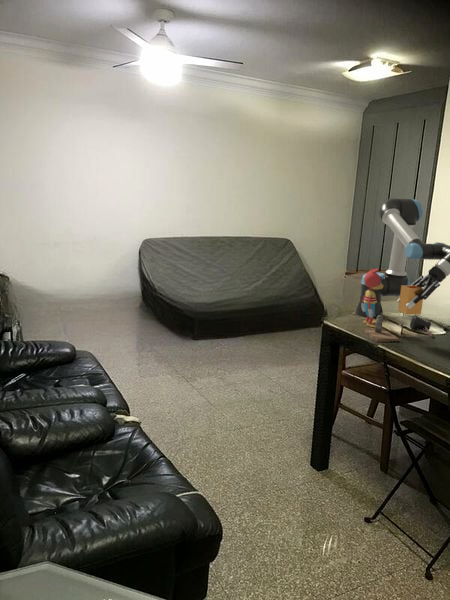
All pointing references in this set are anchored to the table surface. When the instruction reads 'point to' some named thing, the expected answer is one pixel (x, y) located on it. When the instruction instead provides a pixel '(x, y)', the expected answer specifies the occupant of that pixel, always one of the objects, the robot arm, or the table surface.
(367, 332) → the post
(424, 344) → the table surface
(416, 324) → the pink handled mallet
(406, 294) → the frame
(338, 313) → the table surface
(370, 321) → the toy
